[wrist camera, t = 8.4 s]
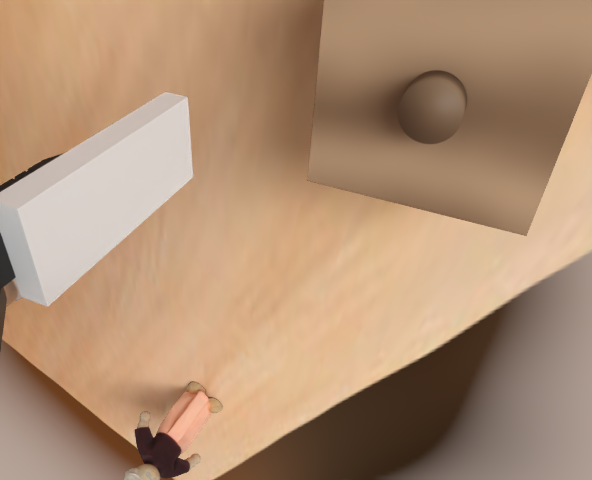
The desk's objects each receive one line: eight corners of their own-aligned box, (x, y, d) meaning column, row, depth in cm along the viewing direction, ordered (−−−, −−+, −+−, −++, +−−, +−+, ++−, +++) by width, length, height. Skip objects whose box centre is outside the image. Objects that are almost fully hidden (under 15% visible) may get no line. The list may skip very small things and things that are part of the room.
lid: (365, -71, 23) (315, -54, 18) (613, -41, 21) (635, -12, 16) (338, 139, 29) (296, 195, 24) (529, 182, 26) (525, 255, 22)
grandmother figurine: (236, 407, 56) (171, 520, 46) (221, 421, 58) (157, 531, 49) (177, 364, 55) (100, 469, 46) (165, 379, 58) (89, 482, 48)
